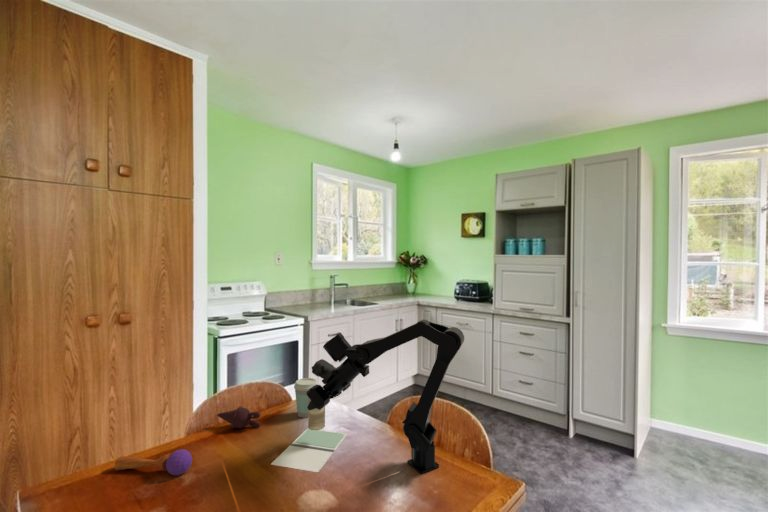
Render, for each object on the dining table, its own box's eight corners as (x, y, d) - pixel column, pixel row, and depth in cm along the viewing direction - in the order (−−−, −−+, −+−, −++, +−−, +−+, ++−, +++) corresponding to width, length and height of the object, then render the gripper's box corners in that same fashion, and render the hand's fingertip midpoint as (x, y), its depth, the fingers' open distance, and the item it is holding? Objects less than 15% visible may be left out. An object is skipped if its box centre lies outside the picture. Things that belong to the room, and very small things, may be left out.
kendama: (129, 447, 102) (197, 446, 100) (127, 471, 101) (196, 470, 99) (111, 454, 96) (183, 453, 94) (109, 479, 95) (181, 479, 93)
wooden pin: (326, 428, 111) (326, 387, 111) (309, 431, 109) (309, 389, 109) (323, 421, 116) (323, 381, 116) (307, 424, 114) (307, 383, 114)
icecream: (210, 412, 119) (255, 419, 118) (222, 398, 126) (264, 404, 125) (211, 431, 121) (255, 437, 120) (223, 416, 128) (265, 421, 127)
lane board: (317, 473, 97) (317, 471, 97) (270, 465, 100) (270, 463, 100) (347, 435, 118) (347, 433, 118) (307, 429, 122) (307, 428, 122)
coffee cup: (322, 413, 135) (323, 380, 135) (306, 421, 127) (306, 386, 128) (305, 407, 139) (306, 376, 139) (288, 415, 132) (289, 382, 132)
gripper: (342, 345, 120) (312, 375, 124) (312, 360, 102) (278, 395, 106) (364, 372, 117) (333, 402, 121) (338, 392, 100) (302, 426, 103)
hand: (312, 405), depth 113 cm, fingers closed on wooden pin, 5 cm apart
